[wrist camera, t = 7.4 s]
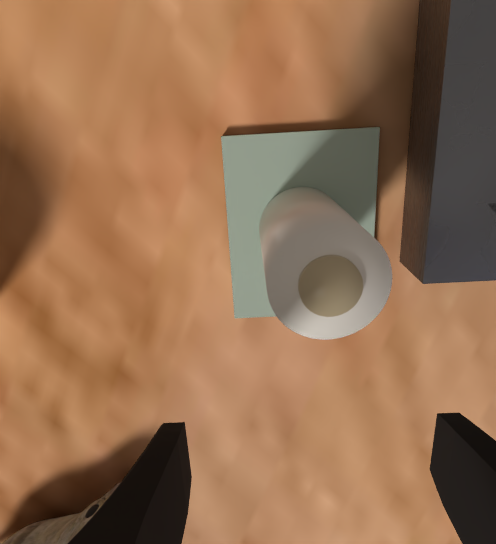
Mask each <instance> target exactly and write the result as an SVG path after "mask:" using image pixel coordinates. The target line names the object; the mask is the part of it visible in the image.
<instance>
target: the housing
mask: <svg viewBox="0 0 496 544" xmlns="http://www.w3.org/2000/svg"><path fill="white" fill-rule="evenodd" d="M400 262H401V263H402V264H403V265H404V266H405V267H406V268H407V269H408V270H409V271H410V272H411V273H412V274H413V275H414V276H415V277H416V278H417V279H419V280H420V281H421V282H422V283H423V284H428V283H449V282H470V281H491V280H496V0H420V4H419V17H418V30H417V43H416V56H415V69H414V82H413V95H412V108H411V121H410V134H409V147H408V160H407V173H406V186H405V200H404V213H403V226H402V239H401V252H400Z"/></svg>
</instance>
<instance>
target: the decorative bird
mask: <svg viewBox="0 0 496 544" xmlns="http://www.w3.org/2000/svg"><path fill="white" fill-rule="evenodd" d="M121 482H122V481H121ZM121 482H120V483H121ZM120 483H118V484H116V485H115V486H114V487H113V488H112V489H111V490H110V491H109V492H107V493H106V494H105V495H104V496H103V497H101V498H100V499H98V500H96V501H94V502H93V503H91V504H90V505H89V506H88V507H87V508H86V509H84V510H83V511H82V512H81V513H77V514H72V515H68V516H64V517H59V518H53V519H46V520H42V521H39V522H35V523H33V524H30V525H28V526H26V527H24V528H22V529H20V530H19V531H17V532H16V533H14V534H13V535H12V536H10V537H9V538H8V539H7V540H6V541H4V542H3V543H2V544H67V543H68V542H69V541H70V540H71V539H72V538H73V537H74V536H75V535H76V534H77V533H78V532H79V531H80V530H81V529H82V528H83V527H84V525H85V524H86V523H87V522H88V521H89V520H90V519H91V518H92V517H93V515H94V514H95V513H96V512H97V511H98V510H99V509H100V507H101V506H102V505H103V504H104V502H105V501H106V500H107V499H108V498H109V496H110V495H111V494H112V493H113V492H114V490H115V489H116V488H117V487H118V485H119V484H120Z"/></svg>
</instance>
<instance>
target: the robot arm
mask: <svg viewBox="0 0 496 544" xmlns="http://www.w3.org/2000/svg"><path fill="white" fill-rule="evenodd" d="M430 471H431V474H432V477H433V480H434V482H435V485H436V488H437V491H438V493H439V496H440V498H441V501H442V503H443V506H444V508H445V510H446V512H447V514H448V516H449V518H450V520H451V522H452V524H453V526H454V528H455V530H456V532H457V534H458V536H459V538H460V540H461V542H462V543H463V544H496V441H495V440H494V439H493V438H491V437H490V436H489V435H488V434H486V433H485V432H484V431H482V430H481V429H480V428H479V427H477V426H476V425H475V424H473V423H472V422H471V421H470V420H468V419H467V418H466V417H464V416H463V415H461V414H460V413H438V414H437V419H436V427H435V434H434V442H433V449H432V456H431V464H430ZM191 478H192V476H191V468H190V460H189V453H188V445H187V437H186V429H185V422H181V423H163V424H162V425H161V426H160V428H159V429H158V431H157V432H156V434H155V435H154V437H153V438H152V440H151V441H150V443H149V444H148V446H147V447H146V449H145V450H144V452H143V453H142V454H141V456H140V457H139V459H138V460H137V462H136V463H135V464H134V466H133V467H132V468H131V470H130V471H129V472H128V474H127V475H126V476H125V478H124V479H123V480H122V482H121V483H120V484H119V485H118V487H117V488H116V489H115V490H114V492H113V493H112V494H111V495H110V496H109V498H108V499H107V500H106V501H105V502H104V504H103V505H102V506H101V507H100V509H99V510H98V511H97V512H96V513H95V514H94V515H93V517H92V518H91V519H90V520H89V521H88V522H87V523H86V524H85V525H84V527H83V528H82V529H81V530H80V531H79V532H78V533H77V534H76V535H75V536H74V537H73V538H72V539H71V540H70V541H69V542H68V543H67V544H181V543H182V538H183V534H184V529H185V524H186V519H187V515H188V506H189V498H190V488H191Z"/></svg>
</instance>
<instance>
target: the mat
mask: <svg viewBox="0 0 496 544" xmlns="http://www.w3.org/2000/svg"><path fill="white" fill-rule="evenodd" d="M379 135H380V127H368V128H351V129H334V130H316V131H299V132H282V133H265V134H248V135H230V136H221V140H222V153H223V167H224V180H225V194H226V207H227V221H228V234H229V248H230V261H231V275H232V288H233V302H234V315H235V318H251V317H273V316H276V315H275V313H274V311H273V309H272V308H271V305H270V302H269V299H268V295H267V288H266V281H265V273H264V266H263V258H262V251H261V243H260V236H259V223H260V219H261V216H262V213H263V211H264V209H265V207H266V206H267V204H268V203H269V202H270V201H271V200H272V199H273V198H274V197H275V196H277V195H278V194H279V193H281V192H283V191H285V190H288V189H291V188H295V187H310V188H315V189H318V190H320V191H322V192H324V193H325V194H327V195H328V196H329V197H330V198H332V199H333V200H334V201H335V202H336V203H337V204H338V205H339V206H340V207H341V208H342V209H344V210H345V211H346V212H347V213H348V214H349V215H350V216H351V217H352V218H353V219H354V220H355V221H357V222H358V223H359V224H360V225H361V226H362V227H363V228H364V229H365V230H366V231H367V232H368V233H370V234H371V235H372V236H373V237H374V230H375V211H376V192H377V173H378V154H379Z"/></svg>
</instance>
